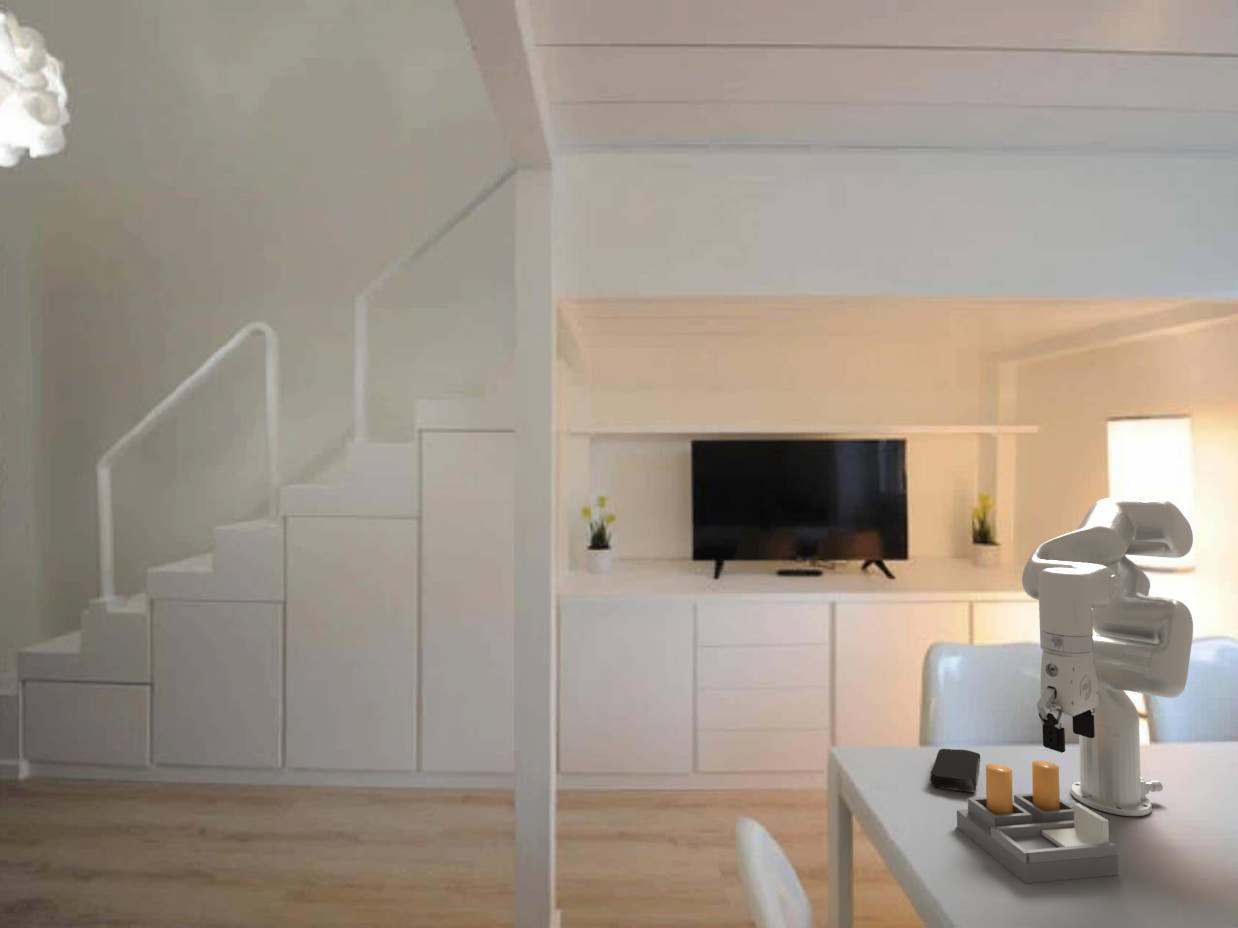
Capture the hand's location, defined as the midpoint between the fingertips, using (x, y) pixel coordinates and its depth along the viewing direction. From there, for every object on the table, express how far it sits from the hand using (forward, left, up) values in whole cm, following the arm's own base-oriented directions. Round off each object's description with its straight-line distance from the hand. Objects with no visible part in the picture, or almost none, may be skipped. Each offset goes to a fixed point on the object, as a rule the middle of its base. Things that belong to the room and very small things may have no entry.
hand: (1069, 742), depth 114 cm
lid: (+3, +4, -15) cm, 15 cm away
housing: (+7, -1, -18) cm, 19 cm away
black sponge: (+3, -27, -18) cm, 33 cm away
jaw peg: (+10, -5, -15) cm, 18 cm away
